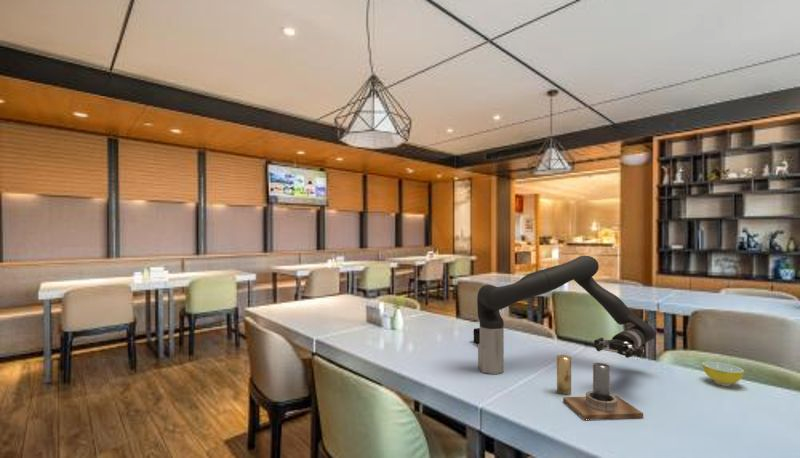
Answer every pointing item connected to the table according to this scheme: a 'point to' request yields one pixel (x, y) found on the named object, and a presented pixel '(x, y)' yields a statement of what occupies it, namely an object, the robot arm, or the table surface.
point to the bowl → (723, 373)
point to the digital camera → (477, 336)
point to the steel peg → (601, 382)
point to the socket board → (602, 414)
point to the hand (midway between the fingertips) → (612, 351)
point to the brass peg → (564, 374)
